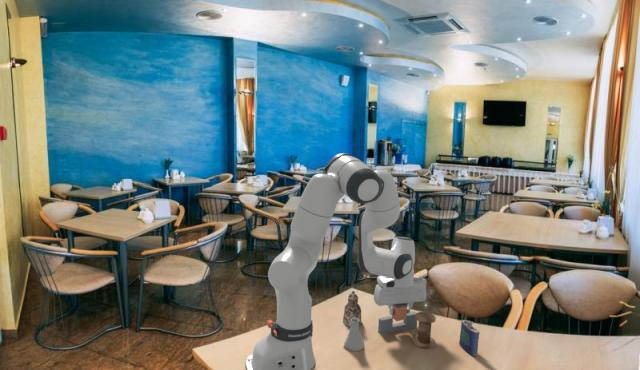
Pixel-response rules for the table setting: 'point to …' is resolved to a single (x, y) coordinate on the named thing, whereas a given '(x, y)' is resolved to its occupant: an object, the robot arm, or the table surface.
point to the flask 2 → (469, 338)
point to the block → (400, 311)
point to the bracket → (388, 326)
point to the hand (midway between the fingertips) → (399, 313)
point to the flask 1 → (354, 337)
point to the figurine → (352, 309)
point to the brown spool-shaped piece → (424, 330)
